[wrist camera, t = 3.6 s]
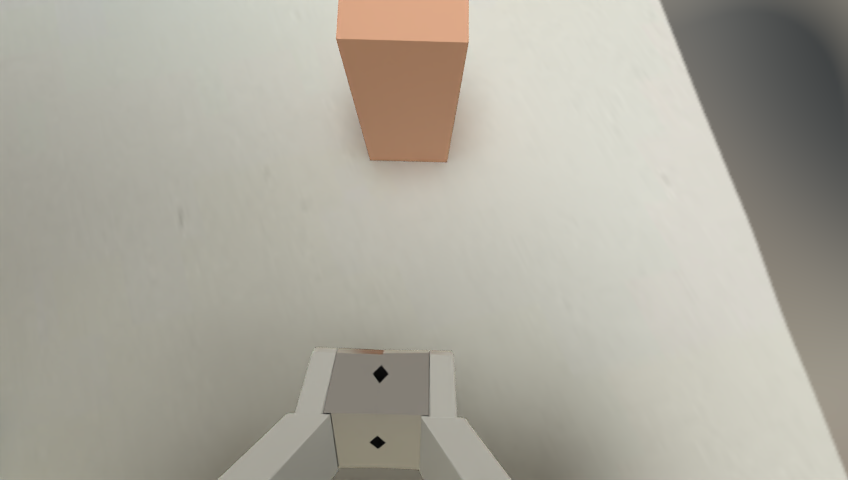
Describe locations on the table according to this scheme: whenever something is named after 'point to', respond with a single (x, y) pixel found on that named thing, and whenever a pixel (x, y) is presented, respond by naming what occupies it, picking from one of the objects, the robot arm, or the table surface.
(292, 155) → the table surface
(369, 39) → the terracotta post
